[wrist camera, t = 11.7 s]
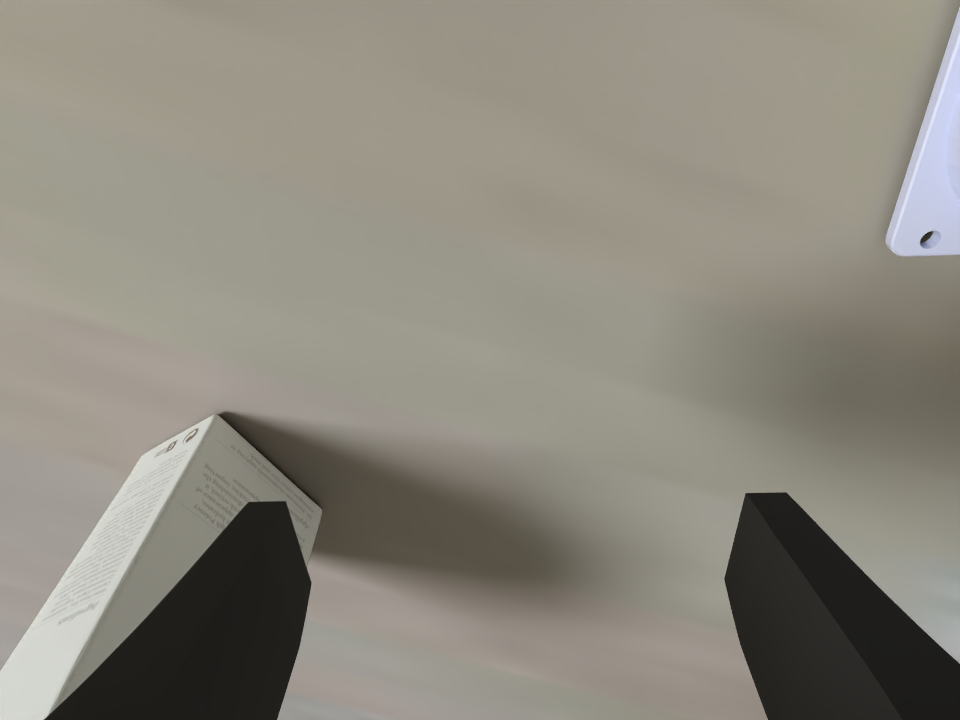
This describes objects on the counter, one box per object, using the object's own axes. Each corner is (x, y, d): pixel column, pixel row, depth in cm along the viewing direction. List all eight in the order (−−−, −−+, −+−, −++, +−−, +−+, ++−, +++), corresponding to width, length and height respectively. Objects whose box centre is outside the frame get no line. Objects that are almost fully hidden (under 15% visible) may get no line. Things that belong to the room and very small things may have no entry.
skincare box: (140, 452, 24) (-130, 830, 14) (223, 403, 22) (-11, 787, 12) (255, 547, 27) (100, 918, 17) (337, 509, 25) (220, 892, 15)
